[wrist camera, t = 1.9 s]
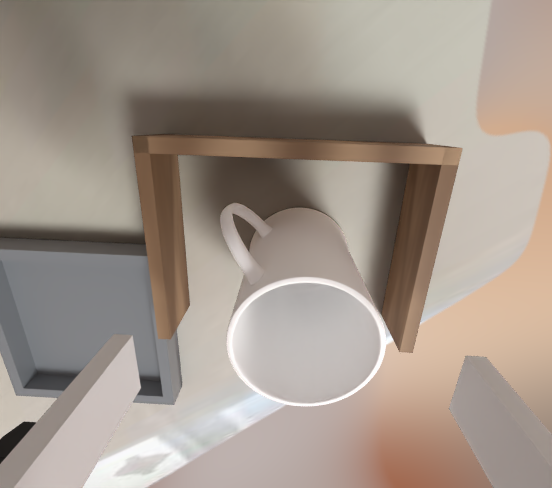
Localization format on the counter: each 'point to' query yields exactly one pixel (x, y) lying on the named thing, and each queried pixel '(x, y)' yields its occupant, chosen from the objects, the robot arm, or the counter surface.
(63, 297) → the tray
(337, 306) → the mug
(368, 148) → the bay
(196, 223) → the counter surface
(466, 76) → the counter surface
